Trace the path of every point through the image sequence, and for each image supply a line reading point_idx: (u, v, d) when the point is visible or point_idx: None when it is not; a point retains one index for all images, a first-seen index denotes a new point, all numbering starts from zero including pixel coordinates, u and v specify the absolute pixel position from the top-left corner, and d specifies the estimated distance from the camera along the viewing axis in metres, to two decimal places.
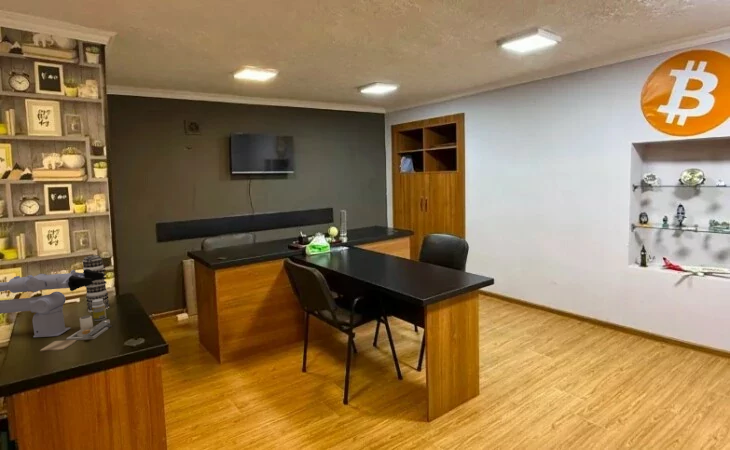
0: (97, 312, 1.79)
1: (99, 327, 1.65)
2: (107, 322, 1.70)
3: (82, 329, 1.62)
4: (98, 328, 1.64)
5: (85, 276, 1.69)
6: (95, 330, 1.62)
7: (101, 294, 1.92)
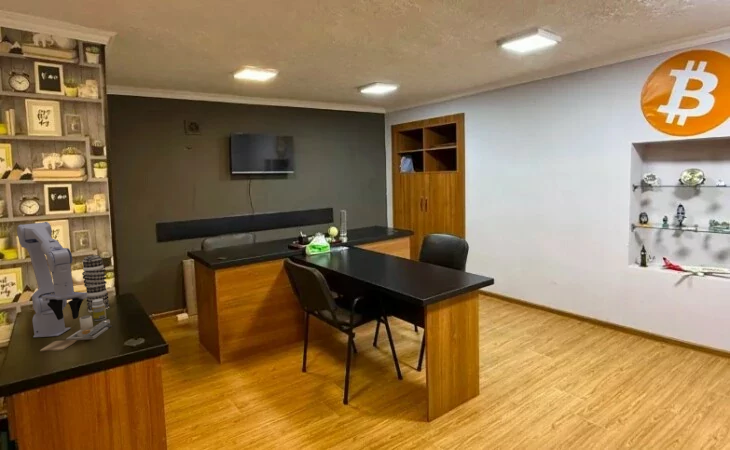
0: (97, 311, 1.79)
1: (99, 327, 1.65)
2: (107, 322, 1.70)
3: (82, 329, 1.62)
4: (98, 328, 1.64)
5: None
6: (95, 330, 1.62)
7: (101, 294, 1.92)
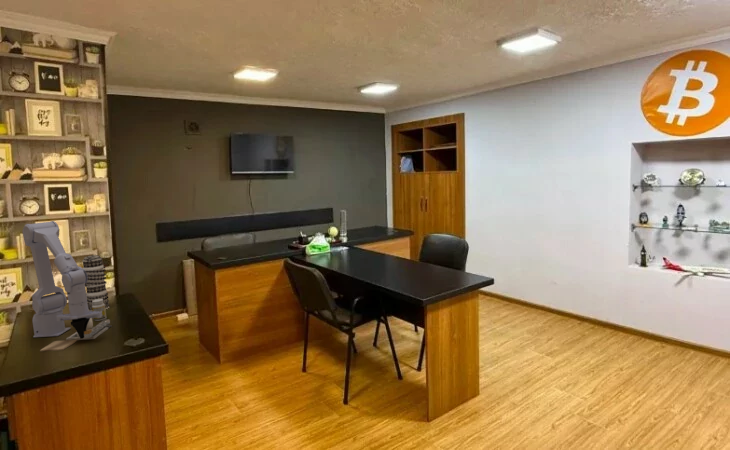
0: None
1: (100, 327, 1.65)
2: (107, 322, 1.70)
3: None
4: (99, 328, 1.64)
5: None
6: (96, 330, 1.62)
7: (101, 294, 1.92)
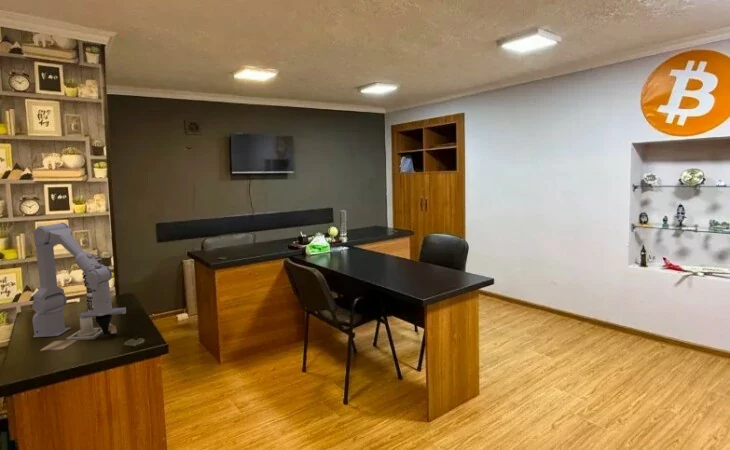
0: None
1: (111, 325, 1.67)
2: None
3: (82, 329, 1.62)
4: (112, 325, 1.66)
5: None
6: None
7: None
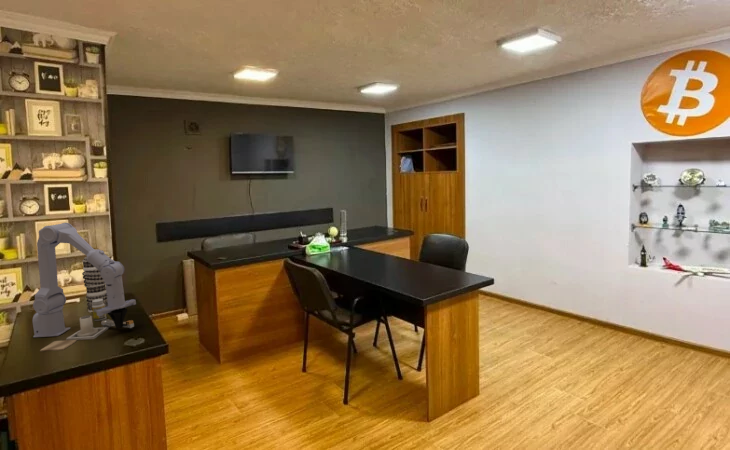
0: None
1: None
2: None
3: (82, 329, 1.62)
4: None
5: (118, 310, 1.65)
6: None
7: (101, 294, 1.92)
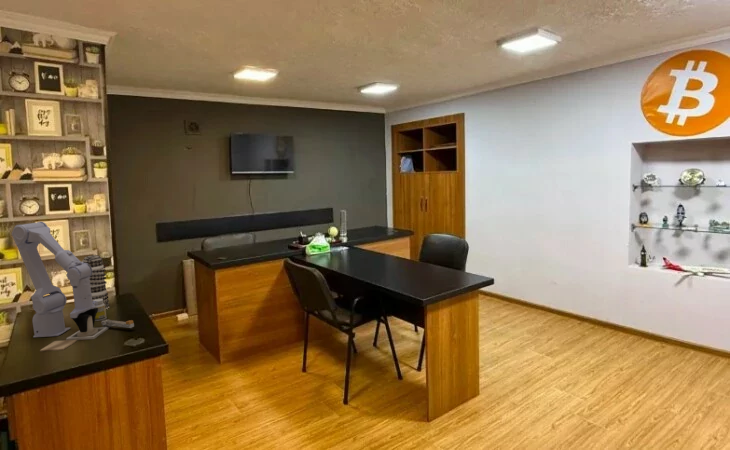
0: None
1: None
2: None
3: None
4: None
5: (88, 310, 1.66)
6: None
7: (101, 294, 1.92)
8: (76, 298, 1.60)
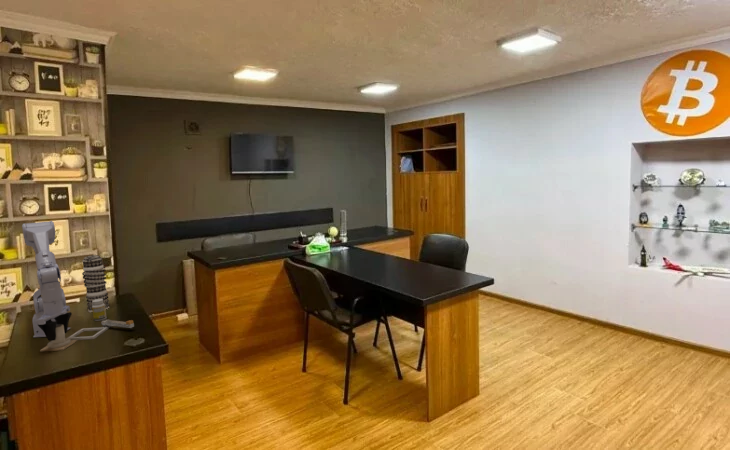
0: (97, 311, 1.79)
1: None
2: None
3: None
4: None
5: (61, 315, 1.56)
6: None
7: (101, 294, 1.92)
8: (45, 303, 1.49)
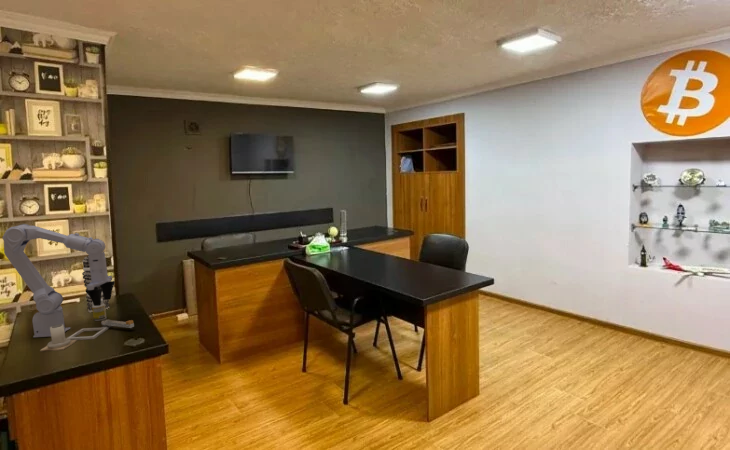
0: (97, 311, 1.79)
1: None
2: None
3: (53, 339, 1.52)
4: None
5: (106, 283, 1.75)
6: None
7: (101, 294, 1.92)
8: (92, 271, 1.68)
